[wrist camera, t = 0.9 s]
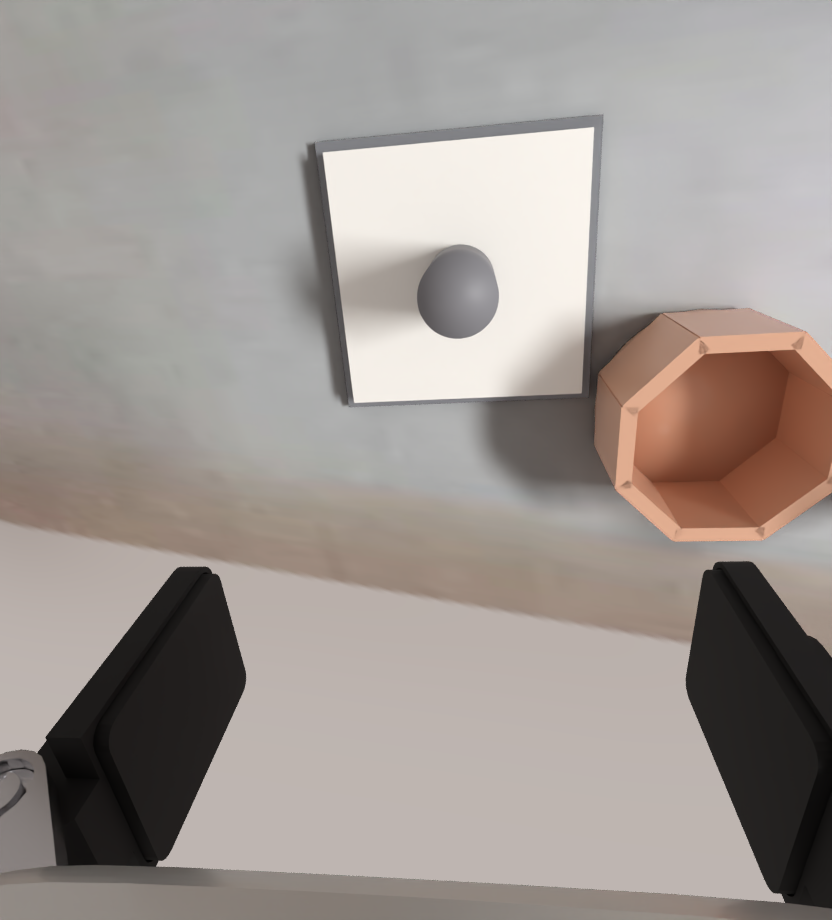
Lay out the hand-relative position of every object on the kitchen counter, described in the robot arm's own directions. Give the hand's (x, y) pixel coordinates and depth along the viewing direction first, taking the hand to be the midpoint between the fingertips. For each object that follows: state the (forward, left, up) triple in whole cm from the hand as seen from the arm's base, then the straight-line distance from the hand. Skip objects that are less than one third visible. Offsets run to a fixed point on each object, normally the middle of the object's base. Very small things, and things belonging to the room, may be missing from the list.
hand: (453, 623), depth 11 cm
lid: (-4, 0, -20) cm, 20 cm away
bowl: (+3, +11, -20) cm, 24 cm away
